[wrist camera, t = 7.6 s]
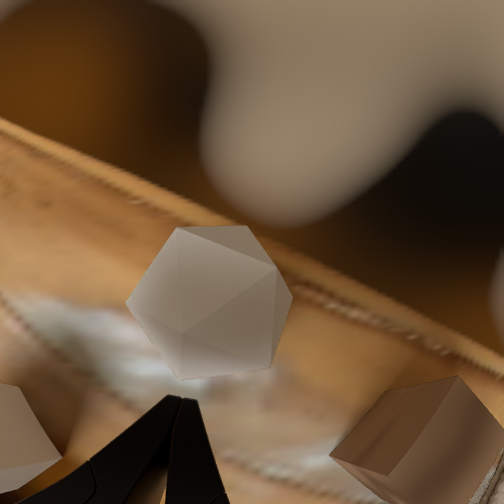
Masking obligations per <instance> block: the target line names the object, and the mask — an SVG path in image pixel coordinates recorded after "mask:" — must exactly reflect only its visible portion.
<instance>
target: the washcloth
mask: <svg viewBox="0 0 504 504" xmlns="http://www.w3.org/2000/svg"><path fill="white" fill-rule="evenodd" d="M479 504H504V454H503V457H502V459H501V462H500V464H499V466H498V468H497V470H496V473H495V475H494V477H493V478H492V480H491V482H490V484H489V486H488V489H487V490H486V492H485V495H484V497H483V498H482V500H481V502H480V503H479Z"/></svg>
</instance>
